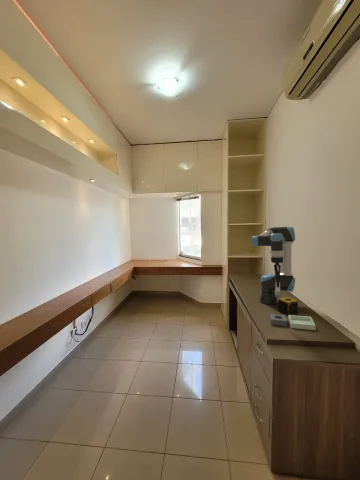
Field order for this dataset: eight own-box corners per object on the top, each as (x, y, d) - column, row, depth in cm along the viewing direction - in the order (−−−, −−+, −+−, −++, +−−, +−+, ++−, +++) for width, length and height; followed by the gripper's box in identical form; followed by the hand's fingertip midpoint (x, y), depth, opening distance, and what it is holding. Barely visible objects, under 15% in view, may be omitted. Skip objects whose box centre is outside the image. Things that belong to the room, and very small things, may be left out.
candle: (277, 311, 174) (277, 298, 174) (287, 308, 178) (287, 296, 177) (288, 316, 165) (287, 302, 164) (298, 313, 168) (298, 300, 168)
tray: (288, 319, 160) (288, 314, 159) (311, 320, 155) (310, 316, 155) (290, 327, 146) (290, 323, 146) (315, 330, 142) (315, 325, 142)
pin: (275, 296, 156) (275, 279, 155) (280, 296, 155) (279, 279, 154) (275, 297, 153) (275, 280, 153) (280, 298, 152) (280, 280, 152)
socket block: (270, 318, 162) (270, 313, 161) (285, 319, 158) (285, 315, 158) (270, 324, 152) (270, 319, 152) (287, 326, 149) (287, 321, 149)
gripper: (270, 254, 161) (271, 287, 163) (271, 258, 146) (272, 294, 148) (282, 254, 159) (282, 287, 160) (284, 258, 144) (285, 294, 145)
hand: (277, 290), depth 154 cm, fingers closed on pin, 3 cm apart
